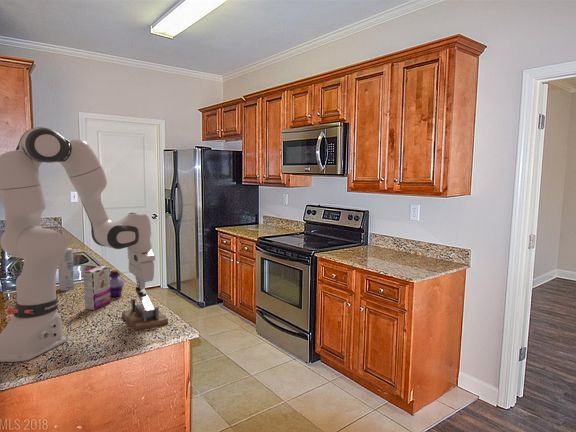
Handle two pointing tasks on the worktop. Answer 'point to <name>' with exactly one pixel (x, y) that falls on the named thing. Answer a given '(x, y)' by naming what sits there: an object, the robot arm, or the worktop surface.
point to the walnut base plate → (139, 325)
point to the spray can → (66, 271)
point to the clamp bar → (144, 299)
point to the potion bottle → (116, 284)
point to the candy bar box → (97, 287)
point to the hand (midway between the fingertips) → (140, 287)
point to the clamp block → (144, 311)
